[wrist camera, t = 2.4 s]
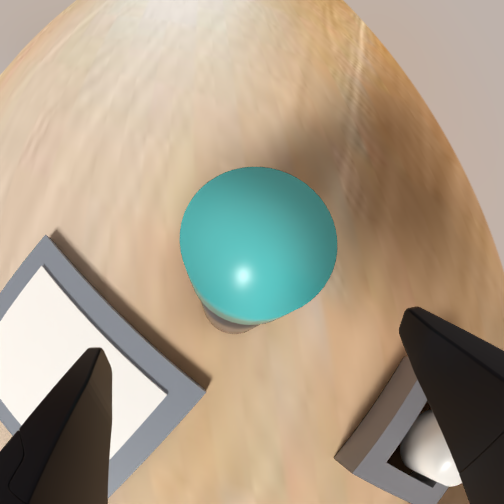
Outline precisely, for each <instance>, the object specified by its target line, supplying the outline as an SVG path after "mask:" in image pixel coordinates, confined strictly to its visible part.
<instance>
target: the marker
mask: <svg viewBox="0 0 504 504" xmlns="http://www.w3.org/2000/svg"><path fill="white" fill-rule="evenodd" d="M180 248H181V254H182V258H183V262H184V265H185V267H186V270H187V273H188V275H189V278H190V281H191V283H192V286H193V288H194V290H195V292H196V294H197V296H198V297H199V299H200V300H201V303H202V305H203V308H204V311H205V314H206V316H207V318H208V320H209V321H210V322H211V324H212V325H213V326H214V327H216V328H217V329H219V330H221V331H223V332H226V333H230V334H239V333H244V332H246V331H249V330H251V329H253V328H254V327H256V326H258V325H260V324H264V323H268V322H271V321H274V320H276V319H278V318H280V317H282V316H284V315H286V314H288V313H290V312H292V311H294V310H296V309H298V308H300V307H302V306H304V305H305V304H307V303H308V302H309V301H311V300H312V299H313V298H314V297H315V296H316V295H317V294H318V293H319V292H320V291H321V290H322V288H323V287H324V286H325V284H326V283H327V281H328V279H329V278H330V275H331V273H332V271H333V268H334V265H335V261H336V255H337V235H336V229H335V226H334V222H333V219H332V217H331V215H330V212H329V211H328V209H327V207H326V205H325V204H324V202H323V201H322V200H321V198H320V197H319V196H318V195H317V194H316V193H315V192H314V190H312V189H311V188H310V187H309V186H308V185H307V184H305V183H304V182H302V181H301V180H299V179H298V178H296V177H294V176H292V175H290V174H288V173H285V172H282V171H279V170H276V169H272V168H265V167H245V168H239V169H235V170H231V171H228V172H225V173H223V174H221V175H219V176H217V177H215V178H214V179H212V180H211V181H209V182H208V183H207V184H205V185H204V186H203V187H202V188H201V189H200V190H199V191H198V192H197V193H196V194H195V196H194V197H193V198H192V200H191V201H190V203H189V205H188V207H187V209H186V211H185V213H184V216H183V219H182V223H181V229H180Z"/></svg>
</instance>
